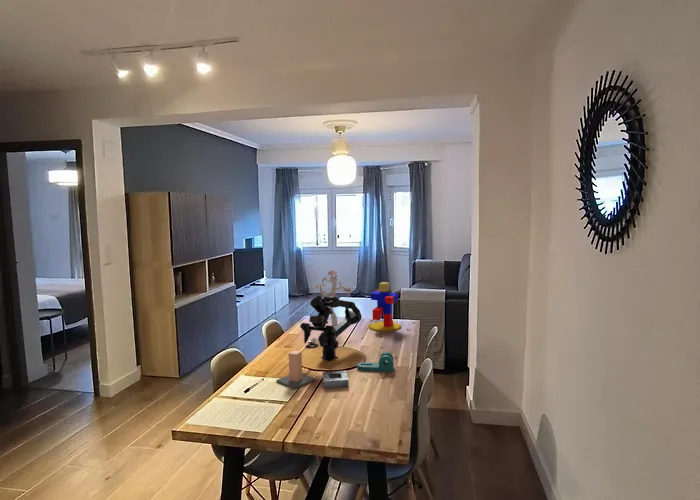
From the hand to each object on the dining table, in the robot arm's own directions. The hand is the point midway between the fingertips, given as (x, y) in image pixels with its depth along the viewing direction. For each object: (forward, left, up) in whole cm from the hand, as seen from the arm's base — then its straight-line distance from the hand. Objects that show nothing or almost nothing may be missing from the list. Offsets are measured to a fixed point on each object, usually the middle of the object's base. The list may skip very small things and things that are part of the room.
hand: (312, 344), depth 217 cm
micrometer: (-26, -28, -13) cm, 41 cm away
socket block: (+6, +22, -13) cm, 26 cm away
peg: (+16, +6, -12) cm, 21 cm away
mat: (+16, +6, -13) cm, 21 cm away
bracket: (-20, +24, -13) cm, 34 cm away
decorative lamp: (-51, -37, -13) cm, 65 cm away
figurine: (-79, -18, -13) cm, 83 cm away
